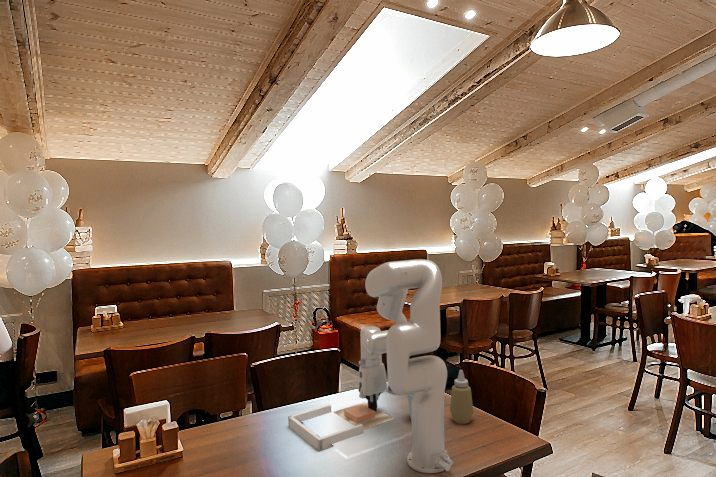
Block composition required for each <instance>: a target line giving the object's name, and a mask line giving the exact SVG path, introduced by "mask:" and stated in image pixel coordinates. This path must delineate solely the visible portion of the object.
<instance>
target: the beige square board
mask: <svg viewBox="0 0 716 477" xmlns="http://www.w3.org/2000/svg"><path fill="white" fill-rule="evenodd" d="M361 404H363V405H364V406H366V407H368V402H366V401H364V402H360V403H358V404H354V405H352V406H349V407H345V408H341V409H339V410H336V411H333V413H334V414H336V415H337V416H339V417H340V418H342V419H344V420H345V421H347V422H348V423H350V424H351V425H353V426H356V425H359V424H362V425H363V431H364V430H366V429H369V428H372V427H374V426H377V425H381V424H383V423H386V422H388V421H389V422H390V421H392V420H394V419H395V418H394V417H393V416H390V415H389V414H386V413H385V412H383V411H381V410H380V409H378V408H377V411H376V412H375V417H374V418H371V419H368V420H365V421H362V422H360V423H356V422H354V421H352V420H351V419H349V418H347V417H346V416H344V410H346V409H349V408H352V407H355V406H358V405H361Z"/></svg>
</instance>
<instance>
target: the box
mask: <svg viewBox="0 0 716 477" xmlns="http://www.w3.org/2000/svg"><path fill="white" fill-rule="evenodd" d="M330 413H332V405H331V404H326V405H323V406H319V407H316V408H312V409H308V410H305V411H303V412H300V413H296V414H292V415H289V416H288V417H287V418H288V427H289V429H291V430H292V431H294V432H295V433H296V434H297V435H299V436H300V437H301V438H302V439H304V440H305V441H306V442H308V444H309V445H311V446H312V447H313V448H315V449H316V450H317V451H319V452H321V451H323V450H326V449H329V448H333V447H334V444H335V443H338V442H341V441H344V440H347V439H349V438H352V437H355V436H358V435H361V434H363V433H364V430H363V425H362V424H359V425H356V426H354V425H353V426H350V427H348V428H345V429H342V430H339V431H337V432H333V433H331V434H327V435H325V436H319V435H318V434H317V433H315V432H314V431H313V430H311V429H310V428H308V427H307V426H306V425H304V422H305V421H307V420H310V419H314V418H317V417H320V416H323V415H326V414H330Z"/></svg>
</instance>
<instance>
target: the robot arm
mask: <svg viewBox="0 0 716 477" xmlns="http://www.w3.org/2000/svg"><path fill="white" fill-rule="evenodd" d="M364 282H365V284H364V285H365V291H366V293H367V295H368V296H369V297H372V298H378V301H377V303H376V311H377V313H378V315H380V317H382V318H384V319H386V320H389V321H391V322H394V324H393V325H391V326H390V328H389V329H388V330H387V329H385V330H381V329H380V327H378V326H373V325H371V326H364V327H362V328H361V329H360V334H359V335H360V360H359V361H358V365H359V370H358V379H357V387H358V388H357V389H358V392H359V395H358V397H359V398H361V399H366V400H367V404H368V408H370V409H372V410H374V411H375V412H376V411H377V409H378V401H379V398H380V395H381V394H383V393H384V392H386V390H388V382H389V386H390V388H391V390H392V392H393V393H392V394H394V395H397V396H408V395H409V394H413V393H414V395H413V398H412V403H411V417H410V420H411V451H410V452H409V453H408V454H407V456H406V461H407V462H406V463H407V465H408V466H409V467H410V468H411V469H412V470H414V471H415V472H416V471H417V472H419V473H424V474H436V473H437V474H438V473H440V472H441V473H442V472H444V471H446V472H449V471H450V470H451V466H452V465H453V464H454V460H453V459H451V458H450V456H449V454H448V451H447V450H446V449H445V391H446V385H447V382H448V381H447V380H448V370H447V366H446V363H445V360H443V359H442V358H441V357H439V356H436V355H423V356H417V355H422V354H427V353H428V354H429V353H431V352H434V351H436V350H438V348H439V347H440V346H441V345H440V344H441V310H440V307H441V306H440V302H441V296H442V290H443V276H442V272H441V269H440V267H439V266H438V264H436V263H435V262H434V261H432V260H429V259H425V258H424V259H421V258H420V259H416V258H415V259H408V260H407V259H405V260H396V261H395V260H393V261H387V262H384V263H381V264H380V265H379V266H377V267H375V268H373V269H371V271H369V273H368V274H367V276H366V278H365V281H364ZM411 289H417V291H416V292H415V293H414V295H413V297H412V299H411V301H410V306H409V311H410V313H409V314H410V317H409V320H408V319H407V317H406V316H405V314H404V313H403V309H404V305H405V302H406V298H407V296H408V292H409V290H411ZM383 354H386V364H387V365H386V367H387V369H386V367H385V364H384V363H383V360H382V359H383V358H382V357H383ZM411 356H412V358H410V357H411ZM413 356H416V357H413ZM386 370H387V372H386Z"/></svg>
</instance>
